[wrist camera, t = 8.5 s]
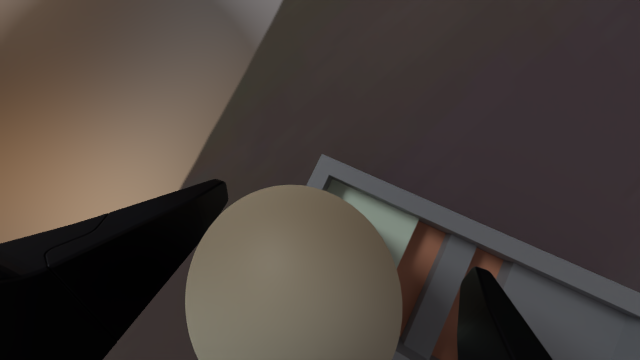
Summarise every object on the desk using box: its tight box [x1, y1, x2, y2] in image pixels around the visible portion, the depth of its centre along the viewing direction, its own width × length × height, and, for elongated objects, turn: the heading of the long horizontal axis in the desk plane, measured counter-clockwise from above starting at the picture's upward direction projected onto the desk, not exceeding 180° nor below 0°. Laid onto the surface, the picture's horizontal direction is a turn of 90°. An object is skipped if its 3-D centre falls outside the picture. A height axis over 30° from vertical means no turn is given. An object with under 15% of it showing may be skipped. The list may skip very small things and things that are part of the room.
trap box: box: [306, 154, 640, 360], centre depth 15 cm, size 9×19×3 cm, turn 64°
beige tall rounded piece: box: [185, 185, 402, 360], centre depth 10 cm, size 4×4×12 cm
